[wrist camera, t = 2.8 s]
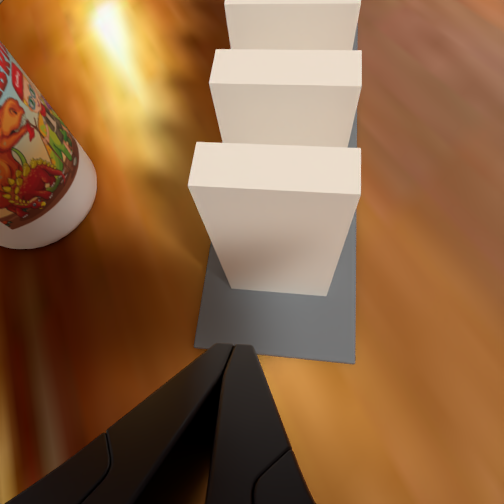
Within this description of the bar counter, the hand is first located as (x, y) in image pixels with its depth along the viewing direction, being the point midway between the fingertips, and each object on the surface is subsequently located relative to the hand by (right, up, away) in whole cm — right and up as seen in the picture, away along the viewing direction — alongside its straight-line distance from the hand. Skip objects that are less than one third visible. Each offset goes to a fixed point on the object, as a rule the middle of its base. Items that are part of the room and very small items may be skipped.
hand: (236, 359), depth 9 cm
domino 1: (+2, +1, +12) cm, 12 cm away
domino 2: (+2, +5, +13) cm, 14 cm away
